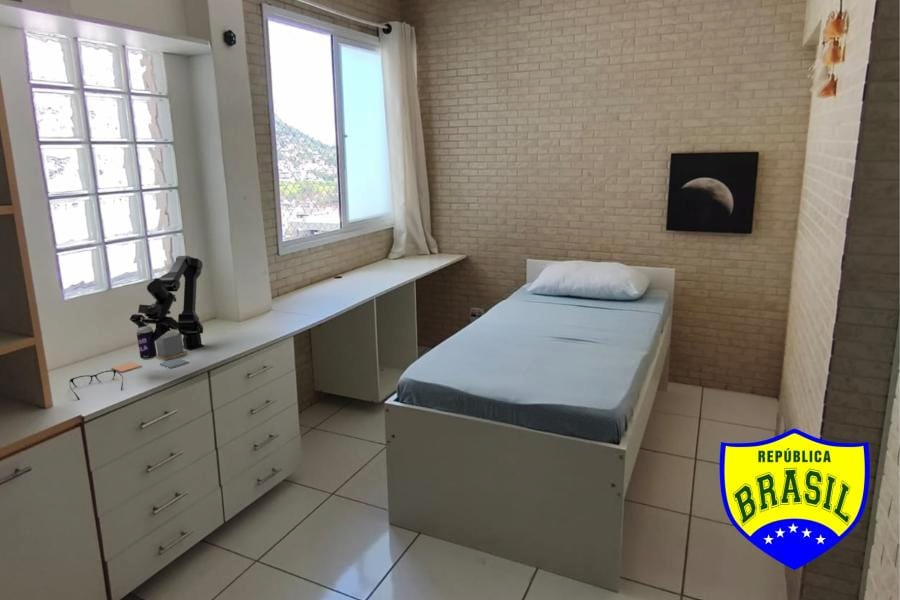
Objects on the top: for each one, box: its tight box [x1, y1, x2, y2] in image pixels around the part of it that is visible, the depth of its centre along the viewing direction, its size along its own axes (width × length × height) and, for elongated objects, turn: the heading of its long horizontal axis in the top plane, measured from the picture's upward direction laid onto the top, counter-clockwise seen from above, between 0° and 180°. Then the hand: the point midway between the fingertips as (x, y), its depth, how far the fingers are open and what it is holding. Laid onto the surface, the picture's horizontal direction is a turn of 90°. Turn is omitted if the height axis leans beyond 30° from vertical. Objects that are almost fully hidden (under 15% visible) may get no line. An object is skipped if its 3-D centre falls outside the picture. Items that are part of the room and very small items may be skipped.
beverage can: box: [136, 325, 158, 361], centre depth 230 cm, size 6×6×12 cm
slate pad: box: [159, 357, 190, 369], centre depth 243 cm, size 8×8×1 cm
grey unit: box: [155, 331, 188, 361], centre depth 252 cm, size 10×8×9 cm
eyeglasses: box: [68, 369, 124, 401], centre depth 218 cm, size 16×16×4 cm
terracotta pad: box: [111, 361, 143, 374], centre depth 239 cm, size 8×8×1 cm
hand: (145, 341), depth 229 cm, fingers closed on beverage can, 6 cm apart
